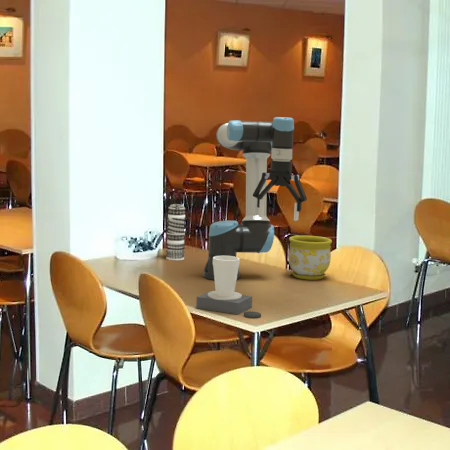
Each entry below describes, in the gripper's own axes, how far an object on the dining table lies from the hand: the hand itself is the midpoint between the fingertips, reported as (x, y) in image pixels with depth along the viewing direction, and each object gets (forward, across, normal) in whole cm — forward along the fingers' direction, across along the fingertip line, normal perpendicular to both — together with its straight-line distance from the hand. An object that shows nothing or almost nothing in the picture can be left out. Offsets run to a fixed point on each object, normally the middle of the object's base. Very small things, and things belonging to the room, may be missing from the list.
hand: (278, 218), depth 300 cm
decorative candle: (+31, -69, +50) cm, 91 cm away
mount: (+31, -11, -20) cm, 38 cm away
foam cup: (+26, -11, -20) cm, 35 cm away
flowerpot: (+31, -4, +49) cm, 58 cm away
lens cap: (+31, +2, -25) cm, 40 cm away
